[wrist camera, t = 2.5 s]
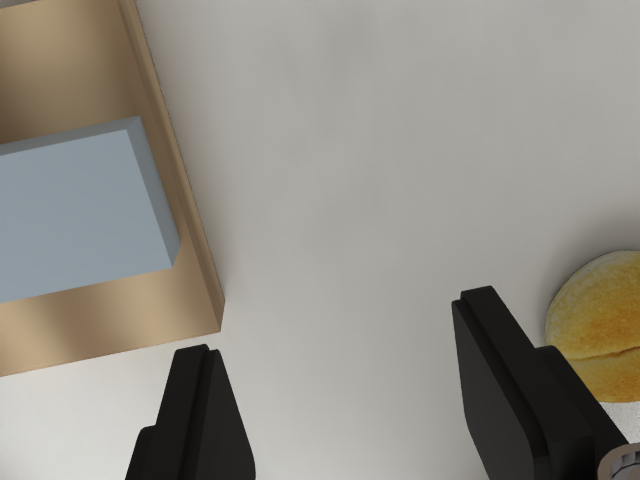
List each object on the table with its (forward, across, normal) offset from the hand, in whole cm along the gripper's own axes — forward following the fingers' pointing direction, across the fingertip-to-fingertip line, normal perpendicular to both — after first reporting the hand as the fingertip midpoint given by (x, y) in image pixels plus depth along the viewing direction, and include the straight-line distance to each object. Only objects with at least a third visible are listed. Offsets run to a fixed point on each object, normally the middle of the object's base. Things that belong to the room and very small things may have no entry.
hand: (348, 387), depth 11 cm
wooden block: (+19, +12, 0) cm, 23 cm away
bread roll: (+20, -15, +14) cm, 29 cm away
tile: (+16, +11, 0) cm, 20 cm away
